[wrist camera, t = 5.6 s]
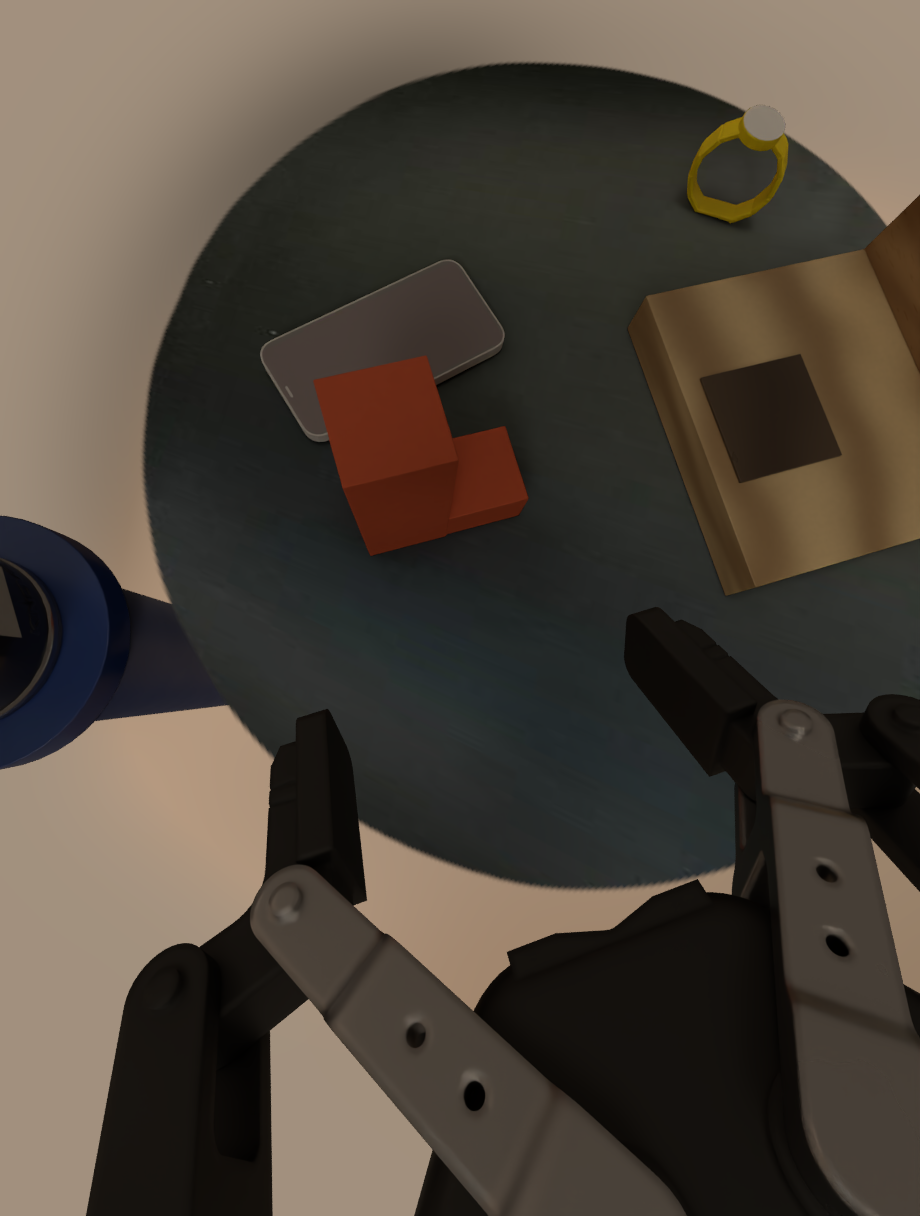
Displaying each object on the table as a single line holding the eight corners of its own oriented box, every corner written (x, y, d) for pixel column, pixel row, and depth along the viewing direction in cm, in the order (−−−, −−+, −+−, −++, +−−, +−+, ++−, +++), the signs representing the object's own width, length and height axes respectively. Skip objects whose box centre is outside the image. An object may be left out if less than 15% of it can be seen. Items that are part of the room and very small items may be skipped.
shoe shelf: (725, 596, 32) (807, 572, 26) (627, 328, 35) (677, 241, 28) (954, 527, 35) (1087, 489, 28) (846, 279, 37) (944, 187, 30)
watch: (754, 210, 37) (816, 122, 31) (745, 240, 37) (806, 156, 31) (680, 182, 37) (728, 88, 31) (670, 211, 37) (718, 122, 31)
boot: (370, 556, 31) (342, 488, 20) (349, 483, 32) (312, 379, 21) (519, 516, 32) (569, 432, 21) (497, 447, 33) (534, 330, 22)
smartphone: (511, 340, 33) (311, 443, 31) (509, 349, 34) (314, 450, 32) (453, 253, 34) (253, 347, 31) (452, 265, 34) (257, 357, 32)
